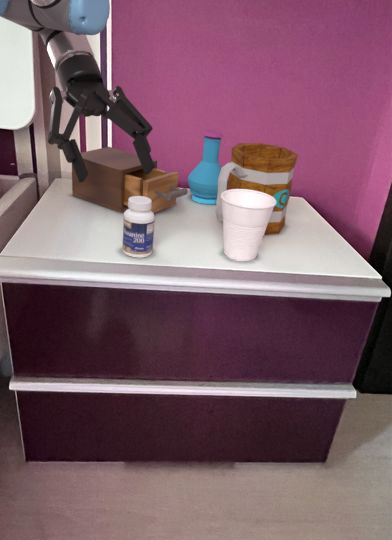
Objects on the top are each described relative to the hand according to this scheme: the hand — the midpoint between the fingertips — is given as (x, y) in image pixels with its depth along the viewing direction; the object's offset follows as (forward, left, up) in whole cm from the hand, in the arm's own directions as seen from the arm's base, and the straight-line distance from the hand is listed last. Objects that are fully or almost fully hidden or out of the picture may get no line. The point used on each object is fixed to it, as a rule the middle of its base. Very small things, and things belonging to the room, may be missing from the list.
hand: (118, 174), depth 99 cm
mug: (+25, -14, -12) cm, 31 cm away
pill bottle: (-2, -7, -12) cm, 14 cm away
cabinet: (+17, +15, -12) cm, 25 cm away
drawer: (+17, +6, -11) cm, 21 cm away
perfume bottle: (+33, +1, -12) cm, 35 cm away
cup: (+11, -21, -12) cm, 26 cm away
